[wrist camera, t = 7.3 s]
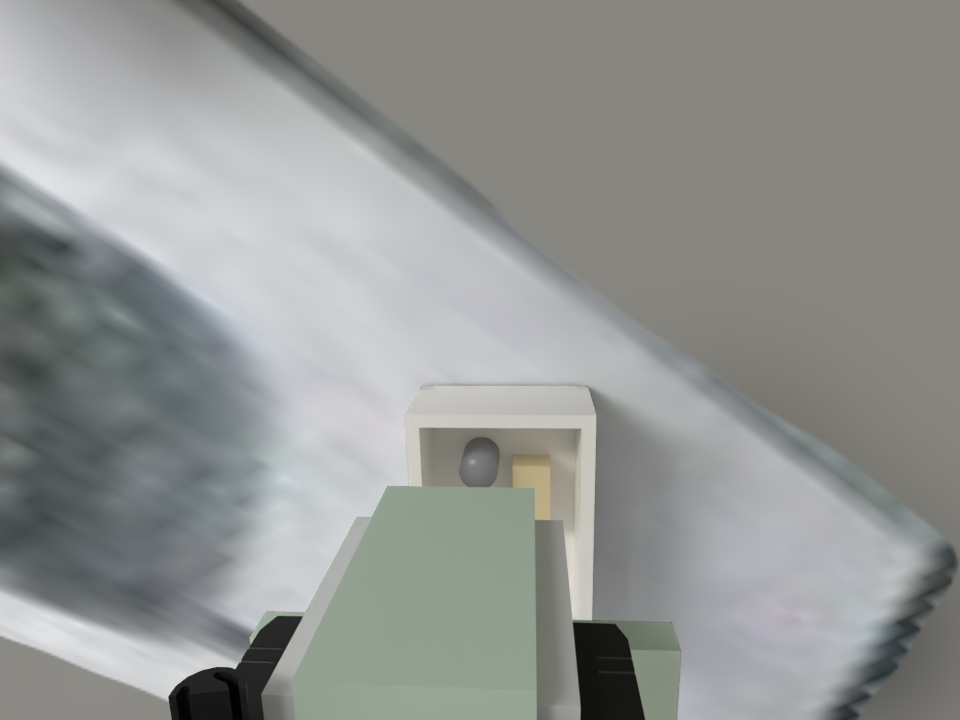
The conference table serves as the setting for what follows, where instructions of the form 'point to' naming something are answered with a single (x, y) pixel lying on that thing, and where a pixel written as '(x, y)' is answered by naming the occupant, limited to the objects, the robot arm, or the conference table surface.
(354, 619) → the lid
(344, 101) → the conference table surface
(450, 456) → the tub
